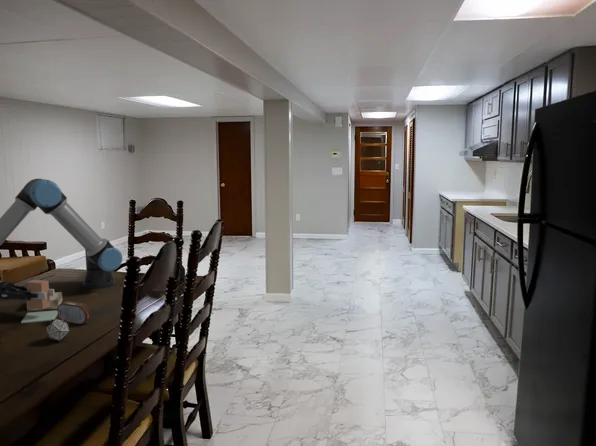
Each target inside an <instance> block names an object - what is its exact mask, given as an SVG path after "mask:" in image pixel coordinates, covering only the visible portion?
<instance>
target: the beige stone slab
mask: <svg viewBox="0 0 596 446" xmlns="http://www.w3.org/2000/svg"><path fill="white" fill-rule="evenodd" d="M54 293H55V296H49V300H50V307H48V308H45V310H54V309H55V310H57V308H58V306H59V305H60V304H61V303H63V292H62V291H57V292H55V291H54ZM26 311H27V312H29V311H31V312H33V311H44V309H43V310H42V309H32V308H28V300H26Z"/></svg>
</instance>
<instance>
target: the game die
mask: <svg viewBox="0 0 596 446" xmlns="http://www.w3.org/2000/svg"><path fill="white" fill-rule="evenodd" d="M65 321H66V319H65V320H64V321H63V320H61V319H58V318H57V316H56V318H55V320H53V321H49V325H48V326H44V327H43V329H45V330H46V334H47V335H46V336H45V337H46V338H48V337H49V341H52V340H55V341H58V343H60V344H61V340H63V338H67V335H68V334H70V333H73V331H71V330H70V327H69V324H70V323H68V322H65Z"/></svg>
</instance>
